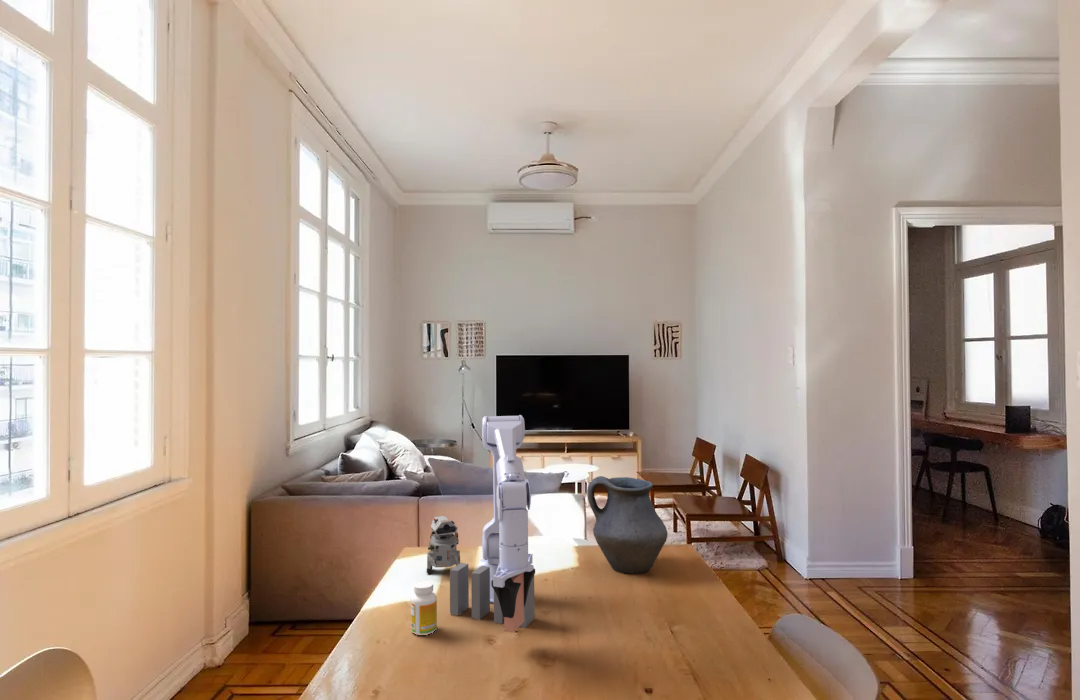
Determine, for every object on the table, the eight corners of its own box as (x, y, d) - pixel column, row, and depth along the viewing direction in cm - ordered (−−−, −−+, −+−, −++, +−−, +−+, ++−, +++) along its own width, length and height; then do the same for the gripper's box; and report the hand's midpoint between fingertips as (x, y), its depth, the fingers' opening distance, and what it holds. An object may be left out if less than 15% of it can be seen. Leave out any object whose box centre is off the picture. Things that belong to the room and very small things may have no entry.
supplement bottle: (441, 627, 127) (441, 581, 127) (428, 638, 122) (428, 590, 122) (419, 623, 128) (419, 578, 129) (405, 634, 123) (405, 587, 124)
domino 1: (450, 614, 133) (449, 569, 133) (461, 606, 138) (460, 562, 138) (457, 616, 132) (457, 570, 133) (468, 607, 137) (468, 563, 137)
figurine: (424, 582, 153) (424, 524, 153) (428, 567, 164) (428, 513, 165) (459, 581, 154) (459, 523, 154) (461, 566, 165) (461, 512, 166)
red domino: (504, 630, 115) (504, 579, 116) (514, 620, 120) (514, 570, 120) (513, 632, 115) (513, 580, 115) (523, 621, 119) (523, 571, 120)
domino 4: (516, 626, 127) (516, 579, 127) (526, 617, 131) (525, 571, 132) (525, 627, 126) (525, 580, 126) (534, 618, 131) (534, 572, 131)
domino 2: (471, 618, 131) (471, 572, 131) (482, 609, 136) (481, 565, 136) (479, 619, 130) (479, 574, 130) (489, 611, 135) (489, 566, 135)
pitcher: (675, 581, 152) (674, 484, 153) (590, 581, 152) (589, 484, 153) (660, 555, 173) (659, 469, 173) (585, 556, 173) (584, 470, 174)
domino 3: (493, 622, 129) (493, 576, 129) (503, 613, 134) (503, 568, 134) (502, 623, 128) (501, 577, 128) (511, 614, 133) (511, 569, 133)
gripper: (517, 555, 109) (517, 629, 109) (545, 534, 123) (546, 600, 123) (483, 551, 112) (483, 623, 112) (514, 530, 126) (515, 595, 125)
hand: (514, 611), depth 117 cm, fingers closed on red domino, 5 cm apart
